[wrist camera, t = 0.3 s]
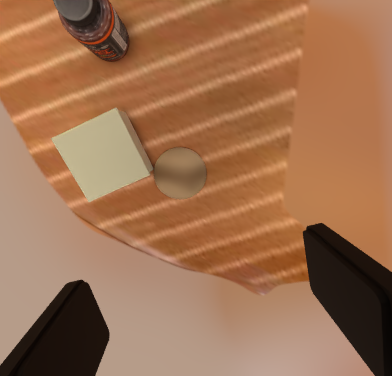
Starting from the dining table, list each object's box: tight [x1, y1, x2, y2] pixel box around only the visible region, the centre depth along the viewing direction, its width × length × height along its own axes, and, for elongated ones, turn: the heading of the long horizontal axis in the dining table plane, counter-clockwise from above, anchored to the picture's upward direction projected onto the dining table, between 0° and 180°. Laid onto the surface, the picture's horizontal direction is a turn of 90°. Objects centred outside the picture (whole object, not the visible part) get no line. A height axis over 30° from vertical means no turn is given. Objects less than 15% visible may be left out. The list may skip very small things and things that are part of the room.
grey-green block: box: [51, 108, 154, 202], centre depth 35 cm, size 10×10×5 cm
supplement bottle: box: [53, 0, 129, 61], centre depth 28 cm, size 6×6×11 cm
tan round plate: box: [154, 147, 207, 199], centre depth 38 cm, size 9×9×1 cm
